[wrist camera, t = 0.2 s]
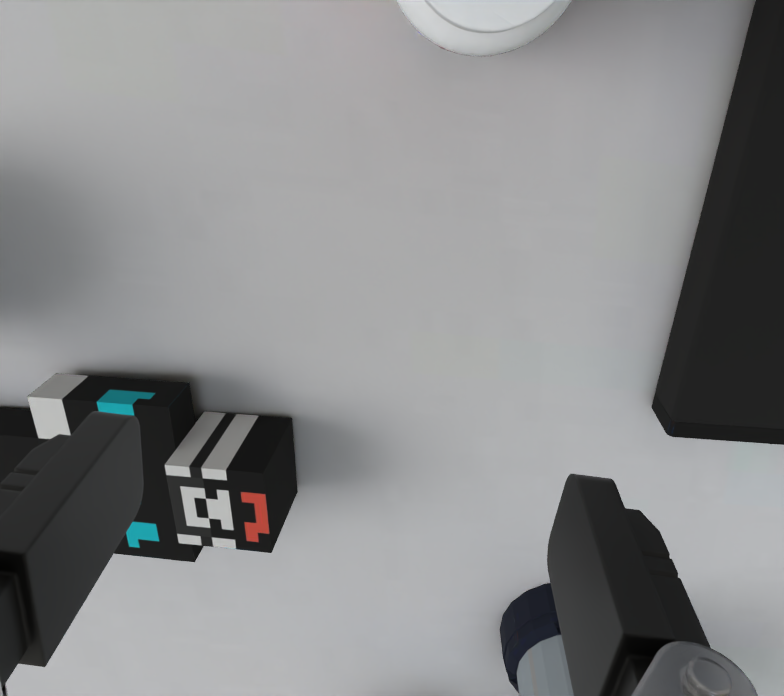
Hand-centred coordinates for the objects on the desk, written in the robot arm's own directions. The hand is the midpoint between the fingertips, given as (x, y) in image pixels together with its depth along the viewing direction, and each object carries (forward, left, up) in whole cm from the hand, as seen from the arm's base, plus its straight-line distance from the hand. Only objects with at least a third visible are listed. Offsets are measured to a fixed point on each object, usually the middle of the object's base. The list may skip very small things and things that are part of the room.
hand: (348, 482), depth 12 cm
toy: (+16, -14, -21) cm, 30 cm away
